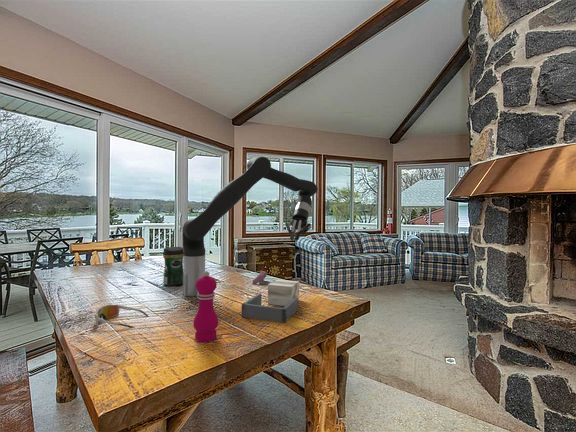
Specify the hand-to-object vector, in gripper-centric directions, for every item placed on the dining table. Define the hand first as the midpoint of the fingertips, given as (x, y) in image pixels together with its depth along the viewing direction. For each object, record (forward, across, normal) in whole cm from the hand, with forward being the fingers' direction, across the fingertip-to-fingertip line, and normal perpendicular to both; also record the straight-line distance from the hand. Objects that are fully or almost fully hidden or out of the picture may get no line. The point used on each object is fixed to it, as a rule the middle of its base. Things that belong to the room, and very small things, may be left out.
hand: (294, 239), depth 150 cm
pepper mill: (+60, -8, -26) cm, 65 cm away
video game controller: (+10, -21, +24) cm, 33 cm away
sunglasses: (+58, -43, -24) cm, 76 cm away
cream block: (+30, +1, +4) cm, 30 cm away
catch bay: (+39, +1, -6) cm, 40 cm away
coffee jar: (+24, -59, +11) cm, 65 cm away
